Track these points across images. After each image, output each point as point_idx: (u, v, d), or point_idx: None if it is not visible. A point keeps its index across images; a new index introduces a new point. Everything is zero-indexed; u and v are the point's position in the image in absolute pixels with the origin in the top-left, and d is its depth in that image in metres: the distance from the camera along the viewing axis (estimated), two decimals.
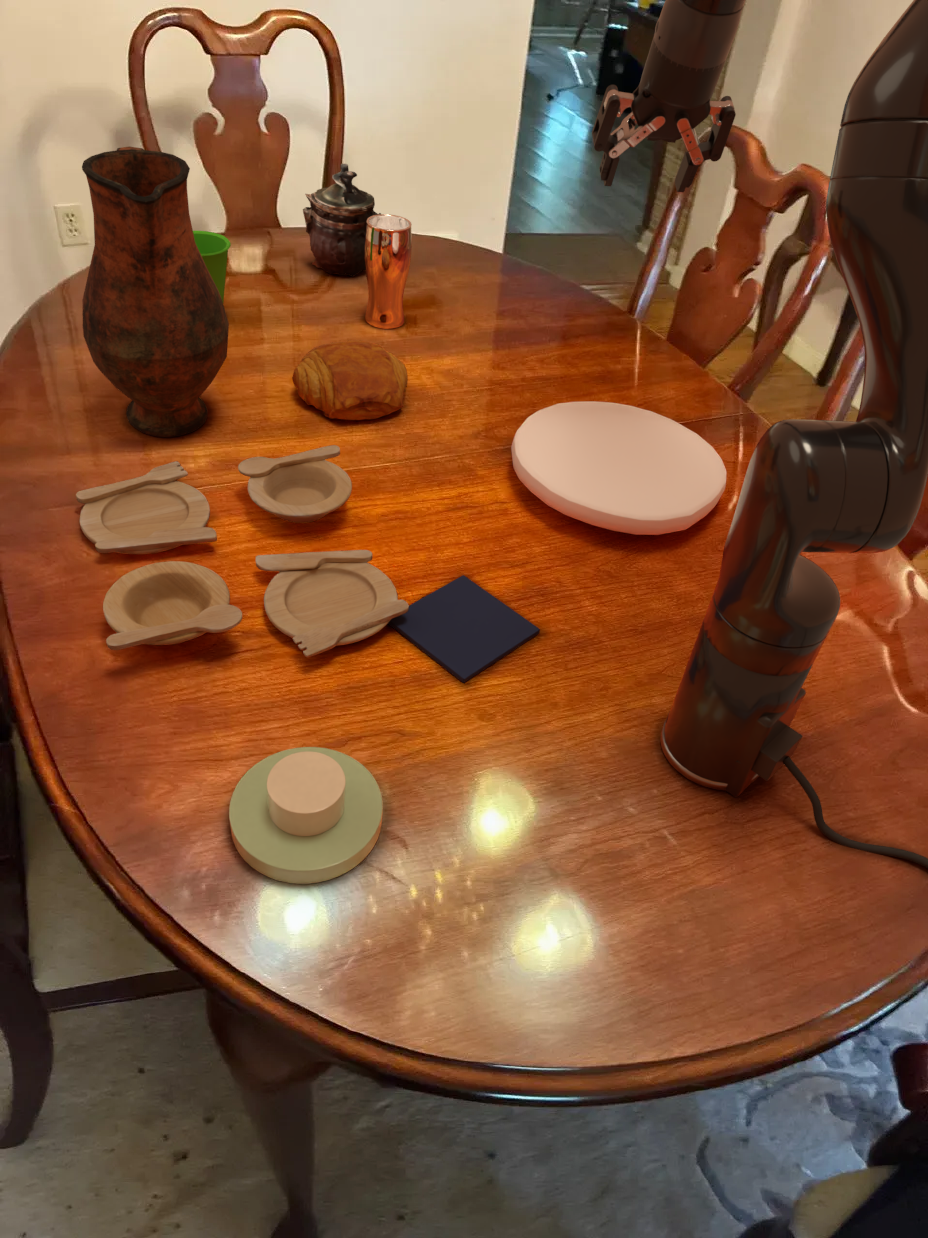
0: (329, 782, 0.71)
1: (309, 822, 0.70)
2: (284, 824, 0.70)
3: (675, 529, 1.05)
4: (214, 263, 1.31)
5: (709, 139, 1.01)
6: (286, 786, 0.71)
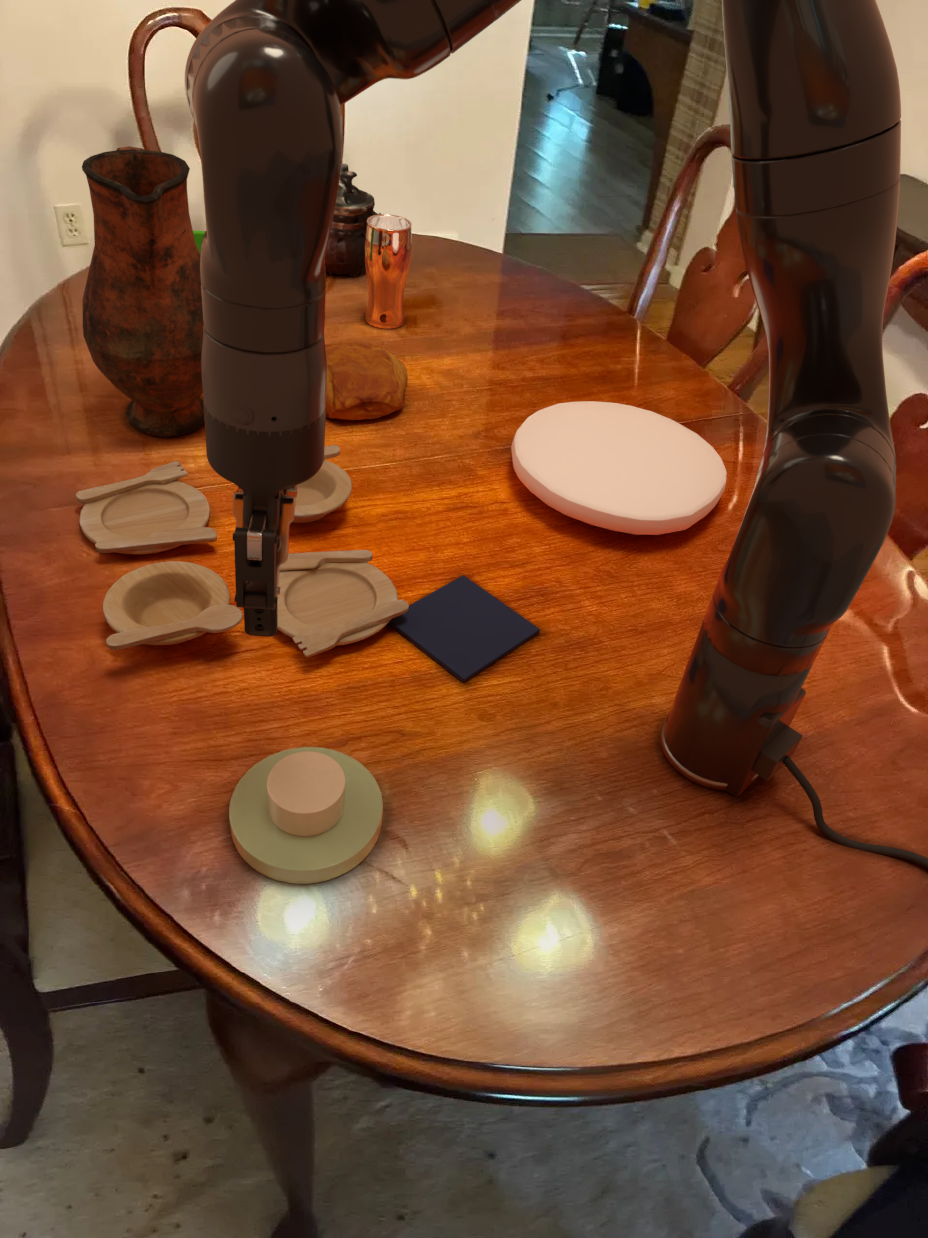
0: (329, 782, 0.71)
1: (309, 822, 0.70)
2: (284, 824, 0.70)
3: (675, 529, 1.05)
4: None
5: None
6: (286, 786, 0.71)
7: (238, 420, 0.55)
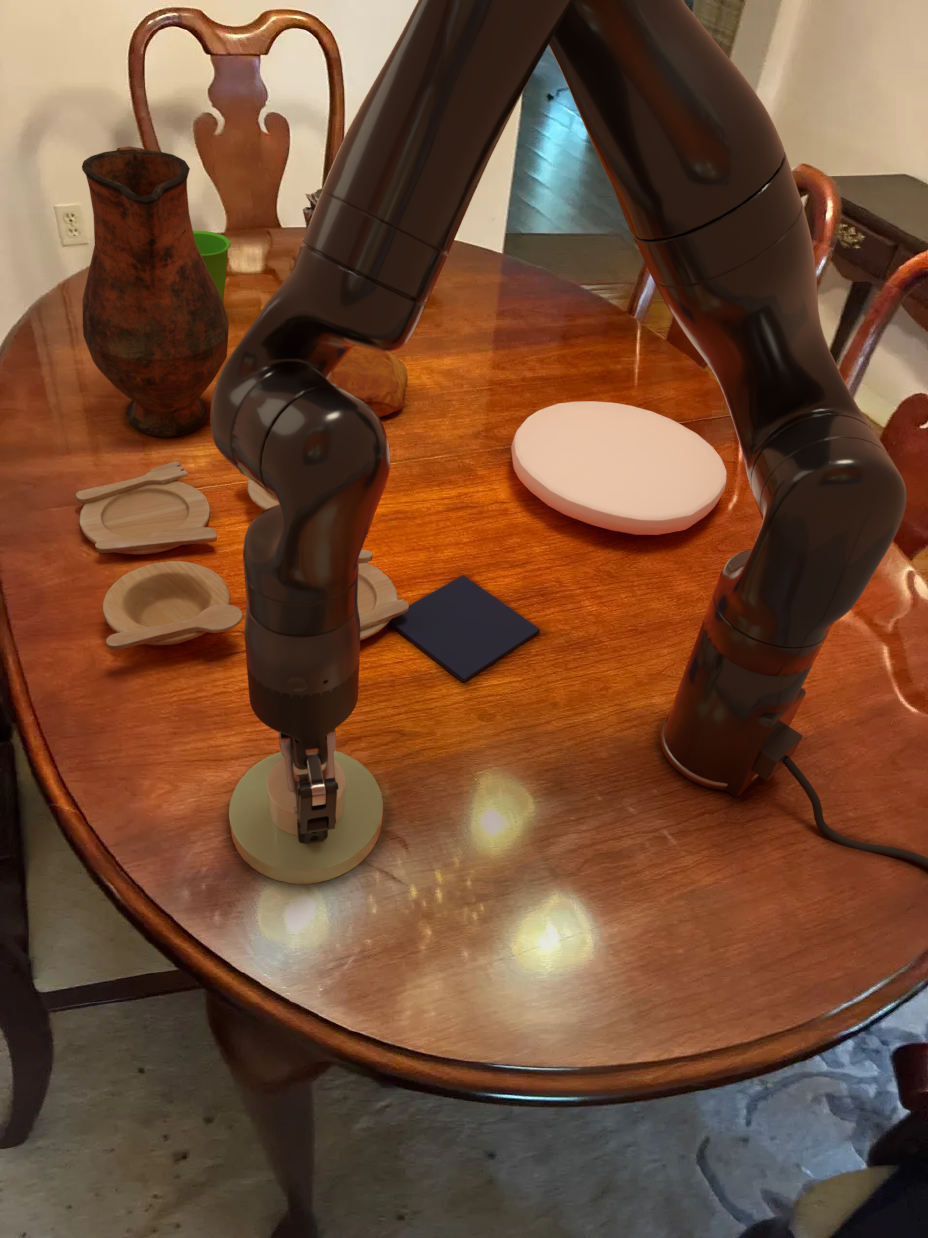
0: None
1: None
2: (284, 824, 0.70)
3: (675, 529, 1.05)
4: (214, 263, 1.31)
5: None
6: (286, 786, 0.71)
7: (292, 689, 0.59)
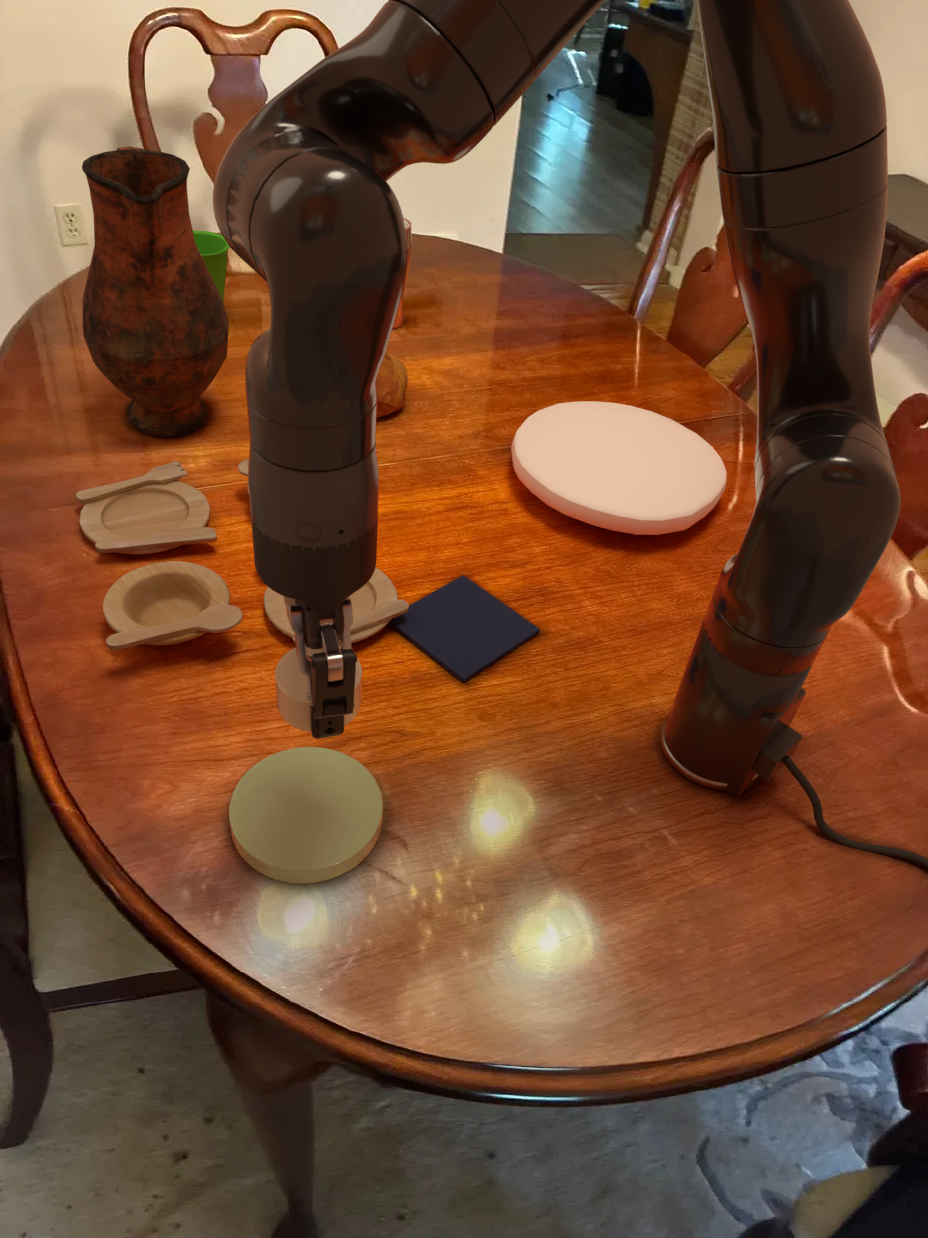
0: None
1: None
2: (295, 718, 0.63)
3: (675, 529, 1.05)
4: (214, 263, 1.31)
5: None
6: (296, 676, 0.64)
7: (304, 540, 0.52)
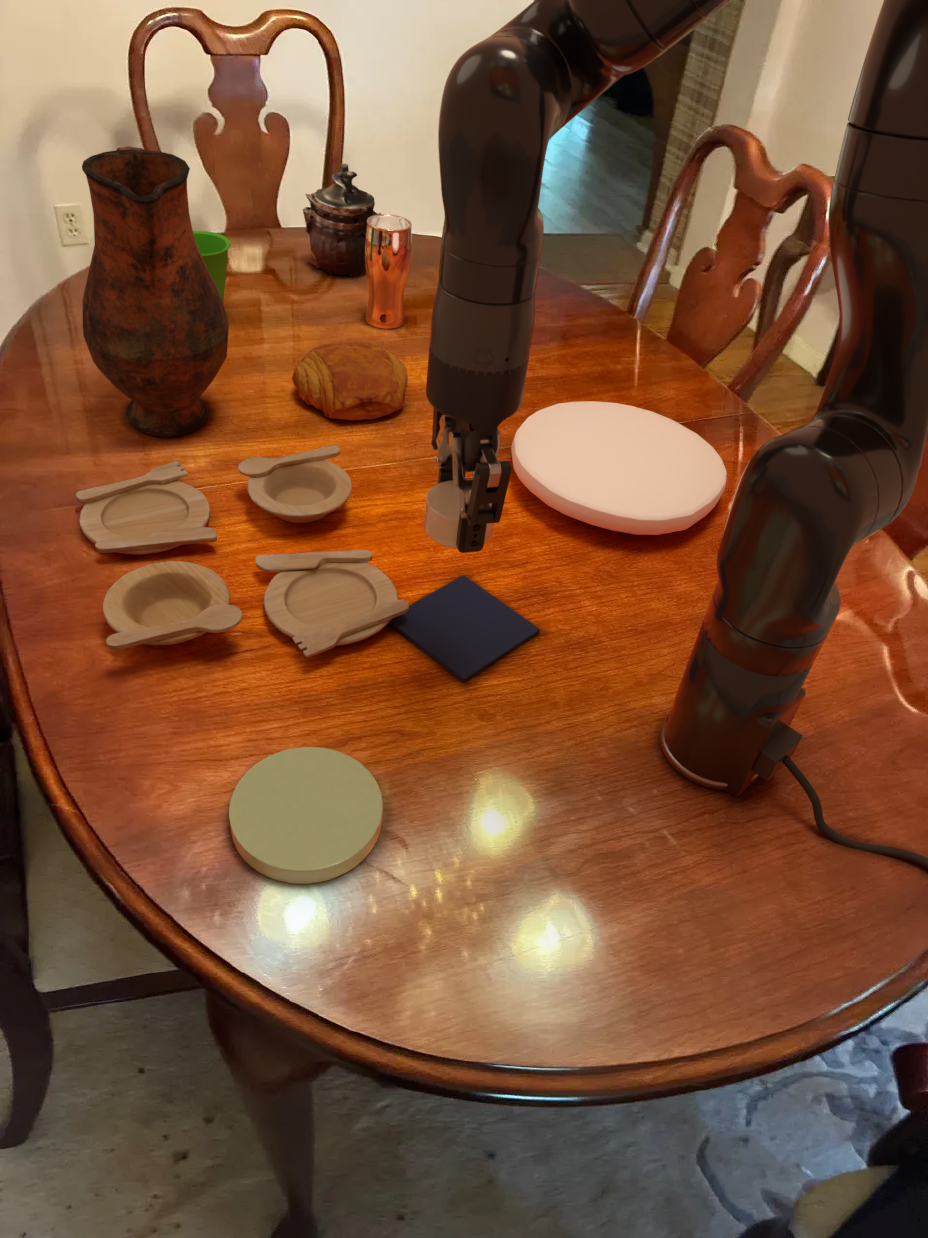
0: None
1: None
2: (443, 536, 0.77)
3: (675, 529, 1.05)
4: (214, 263, 1.31)
5: None
6: (444, 502, 0.77)
7: (479, 364, 0.66)
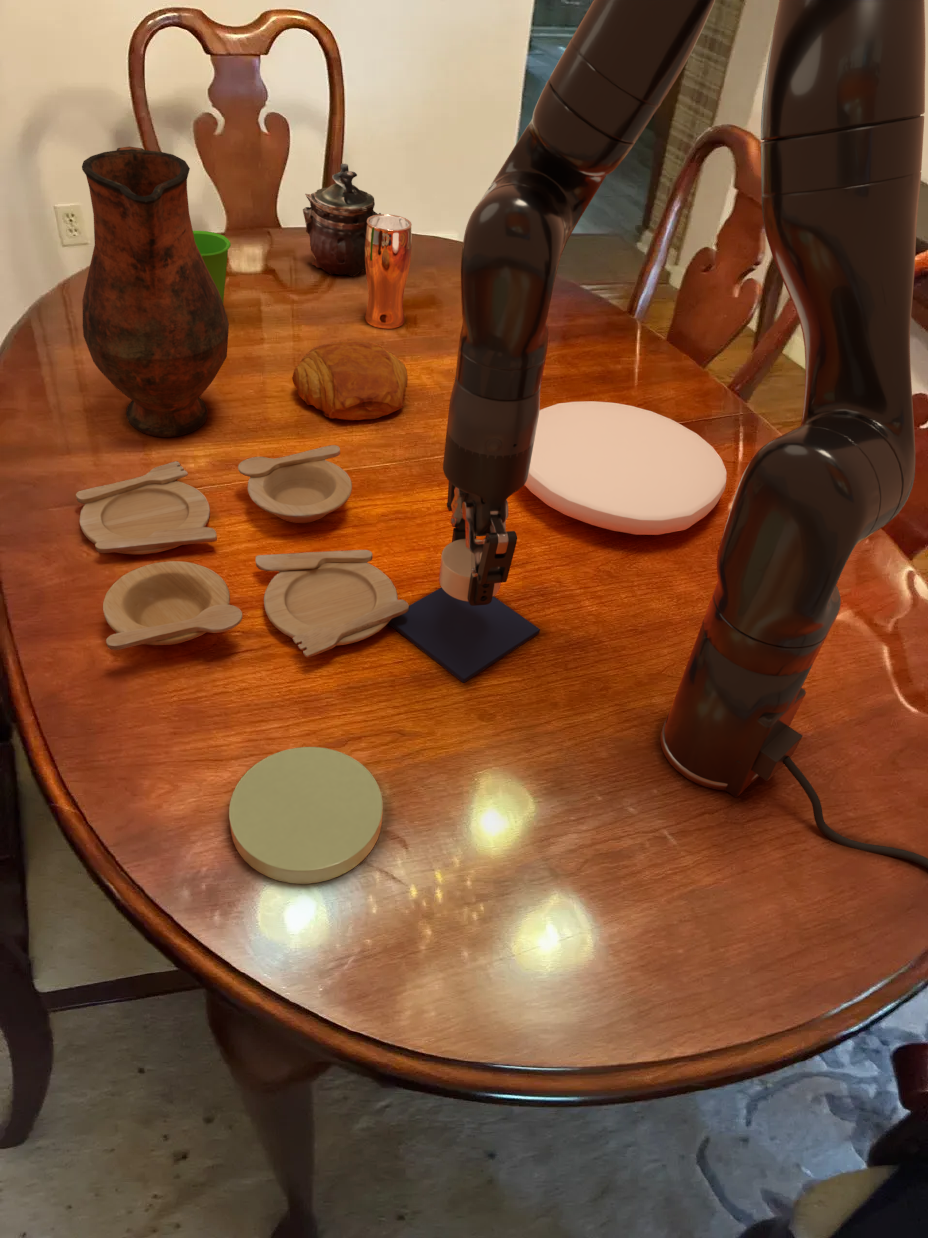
0: None
1: None
2: (456, 590, 0.87)
3: (675, 529, 1.05)
4: (214, 263, 1.31)
5: None
6: (457, 560, 0.87)
7: (490, 449, 0.75)
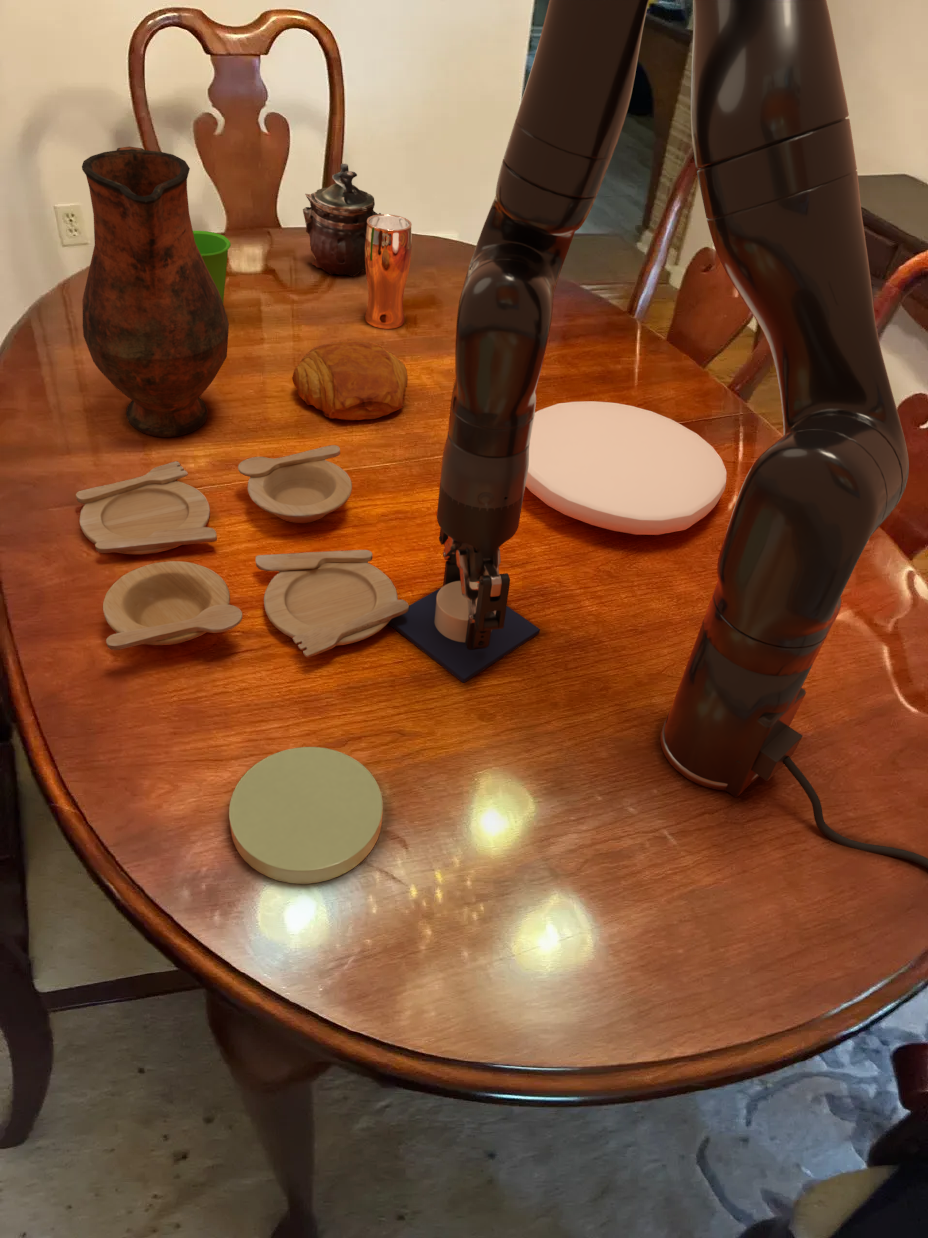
0: None
1: None
2: (450, 631, 0.90)
3: (675, 529, 1.05)
4: (214, 263, 1.31)
5: (446, 537, 0.92)
6: (452, 602, 0.90)
7: (482, 503, 0.78)
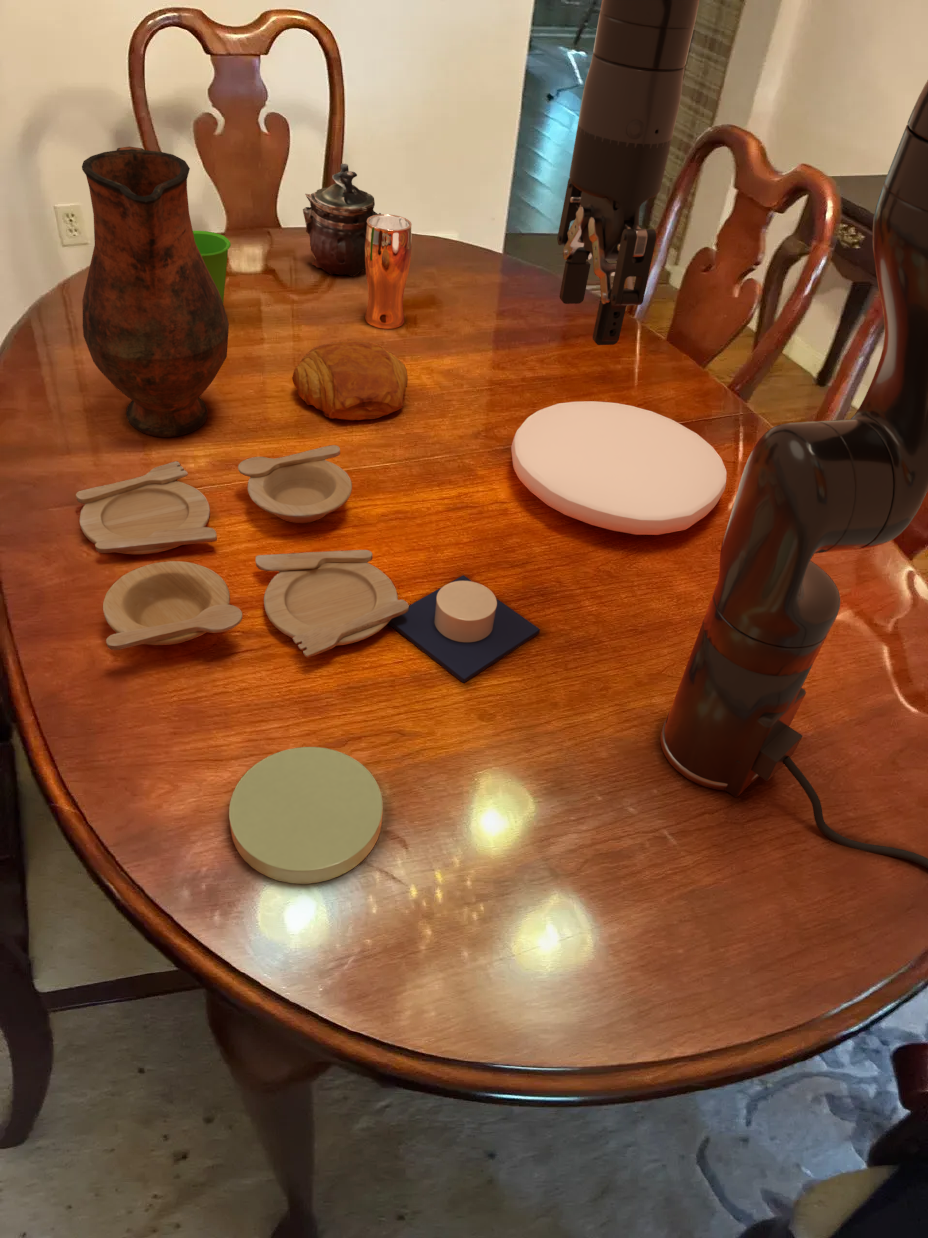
0: (484, 601, 0.91)
1: (471, 628, 0.89)
2: (450, 631, 0.90)
3: (675, 529, 1.05)
4: (214, 263, 1.31)
5: (566, 234, 0.84)
6: (452, 602, 0.90)
7: (630, 135, 0.70)
